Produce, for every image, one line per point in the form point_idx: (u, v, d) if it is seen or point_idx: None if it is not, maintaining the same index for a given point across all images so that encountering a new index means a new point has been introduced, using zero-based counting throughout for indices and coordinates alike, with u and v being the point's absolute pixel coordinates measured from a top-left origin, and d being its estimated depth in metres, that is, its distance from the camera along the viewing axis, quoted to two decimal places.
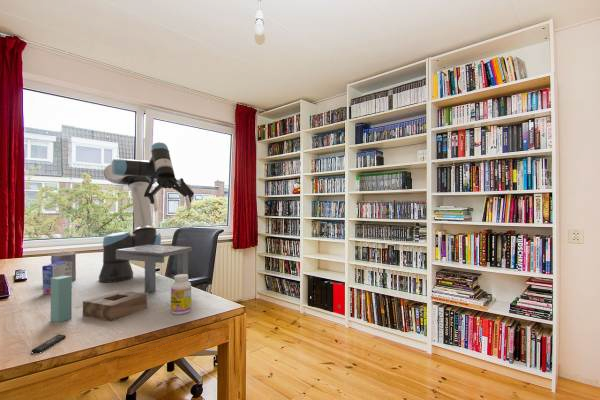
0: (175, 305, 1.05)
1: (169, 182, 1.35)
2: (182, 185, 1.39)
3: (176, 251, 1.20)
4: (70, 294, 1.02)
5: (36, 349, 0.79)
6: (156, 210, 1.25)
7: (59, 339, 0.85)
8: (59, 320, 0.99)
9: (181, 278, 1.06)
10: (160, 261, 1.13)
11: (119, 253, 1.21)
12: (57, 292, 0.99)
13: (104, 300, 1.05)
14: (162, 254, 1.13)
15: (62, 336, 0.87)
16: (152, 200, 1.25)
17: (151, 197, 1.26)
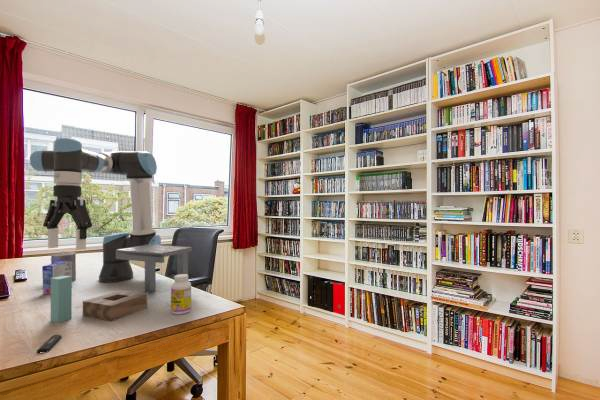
0: (175, 305, 1.05)
1: None
2: None
3: (176, 251, 1.20)
4: (70, 294, 1.02)
5: (42, 348, 0.79)
6: (55, 247, 1.05)
7: (58, 339, 0.85)
8: (59, 320, 0.99)
9: (181, 278, 1.06)
10: (160, 261, 1.13)
11: (119, 253, 1.21)
12: (57, 292, 0.99)
13: (104, 300, 1.05)
14: (162, 254, 1.13)
15: (59, 335, 0.87)
16: None
17: None
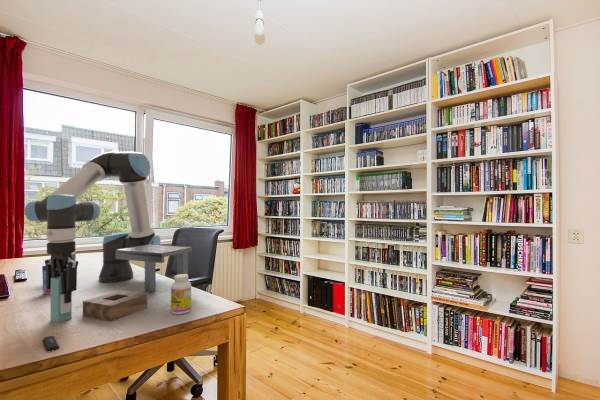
0: (175, 305, 1.05)
1: None
2: None
3: (176, 251, 1.20)
4: None
5: (53, 346, 0.80)
6: None
7: (54, 339, 0.85)
8: (59, 320, 0.99)
9: (181, 278, 1.06)
10: (160, 261, 1.13)
11: (119, 253, 1.21)
12: (57, 292, 0.99)
13: (104, 300, 1.05)
14: (162, 254, 1.13)
15: (52, 336, 0.86)
16: None
17: None
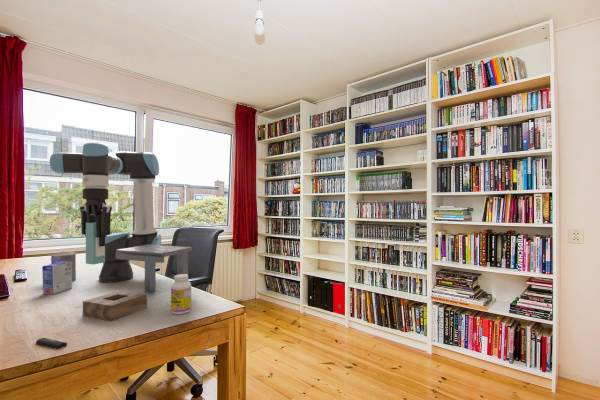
0: (175, 305, 1.05)
1: None
2: None
3: (176, 251, 1.20)
4: None
5: (62, 343, 0.82)
6: None
7: None
8: (94, 262, 1.04)
9: (181, 278, 1.06)
10: (160, 261, 1.13)
11: (119, 253, 1.21)
12: (92, 235, 1.04)
13: (104, 300, 1.05)
14: (162, 254, 1.13)
15: (45, 338, 0.85)
16: None
17: None
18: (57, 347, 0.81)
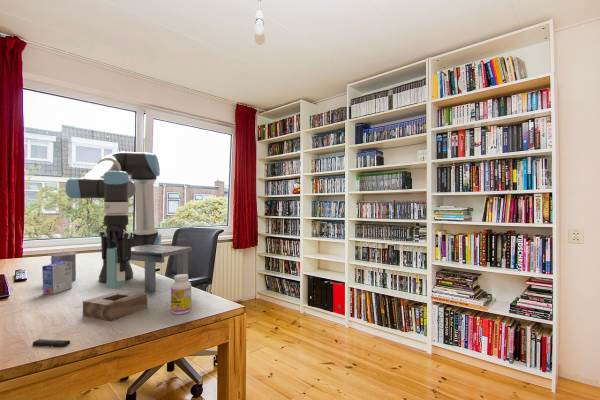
0: (175, 305, 1.05)
1: None
2: None
3: (176, 251, 1.20)
4: None
5: (66, 341, 0.83)
6: None
7: None
8: (115, 287, 1.06)
9: (181, 278, 1.06)
10: (160, 261, 1.13)
11: None
12: (113, 261, 1.06)
13: (104, 300, 1.05)
14: (162, 254, 1.13)
15: (42, 339, 0.85)
16: None
17: None
18: (62, 345, 0.82)
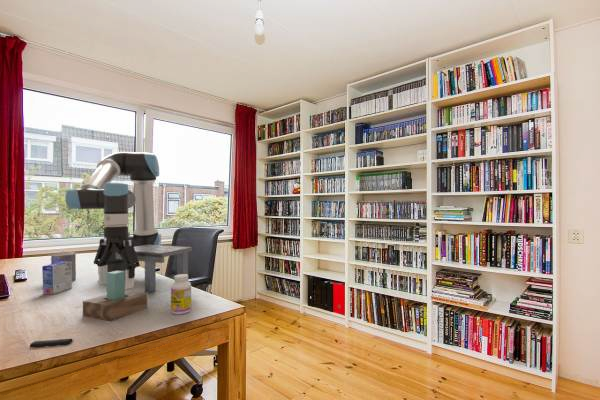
0: (175, 305, 1.05)
1: None
2: None
3: (176, 251, 1.20)
4: (124, 288, 1.10)
5: (70, 339, 0.84)
6: (105, 283, 1.12)
7: None
8: None
9: (181, 278, 1.06)
10: (160, 261, 1.13)
11: None
12: (113, 286, 1.06)
13: (104, 300, 1.05)
14: (162, 254, 1.13)
15: None
16: None
17: None
18: (67, 343, 0.83)
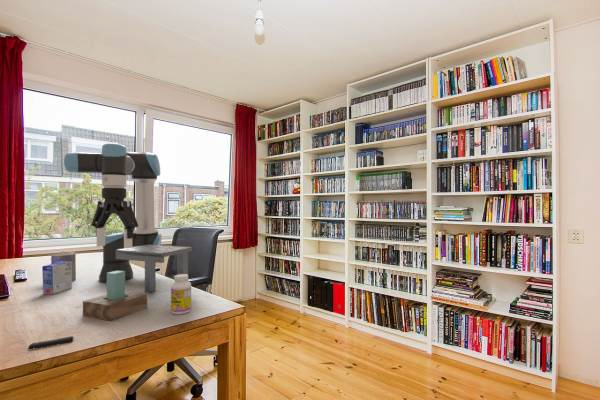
0: (175, 305, 1.05)
1: None
2: None
3: (176, 251, 1.20)
4: (124, 288, 1.10)
5: None
6: (103, 245, 1.12)
7: None
8: None
9: (181, 278, 1.06)
10: (160, 261, 1.13)
11: (119, 253, 1.21)
12: (113, 286, 1.06)
13: (104, 300, 1.05)
14: (162, 254, 1.13)
15: None
16: None
17: (96, 230, 1.11)
18: (70, 340, 0.85)
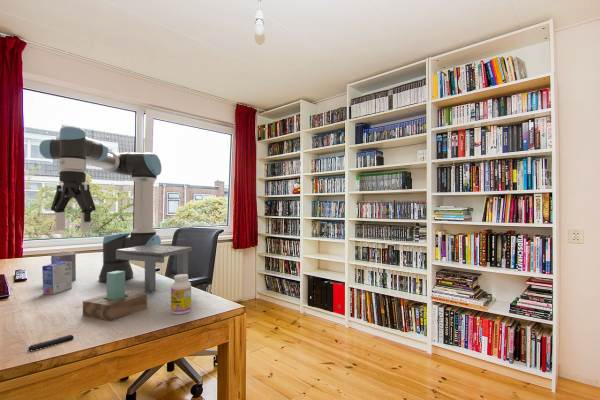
0: (175, 305, 1.05)
1: None
2: None
3: (176, 251, 1.20)
4: (124, 288, 1.10)
5: (71, 335, 0.87)
6: None
7: None
8: None
9: (181, 278, 1.06)
10: (160, 261, 1.13)
11: (119, 253, 1.21)
12: (113, 286, 1.06)
13: (104, 300, 1.05)
14: (162, 254, 1.13)
15: None
16: None
17: (56, 215, 1.11)
18: (72, 338, 0.86)
